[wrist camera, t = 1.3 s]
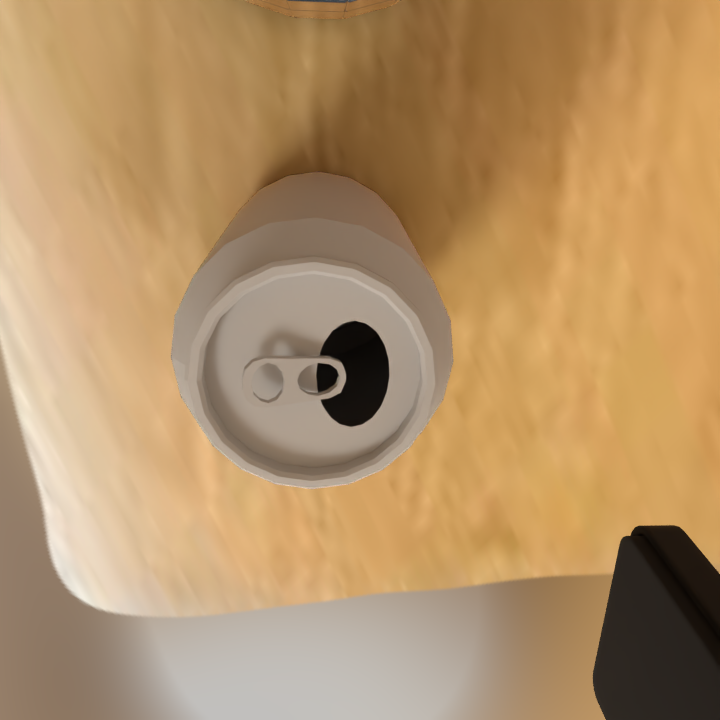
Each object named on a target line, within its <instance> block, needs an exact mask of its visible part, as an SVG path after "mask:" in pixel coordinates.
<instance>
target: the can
mask: <svg viewBox="0 0 720 720" xmlns="http://www.w3.org/2000/svg"><path fill="white" fill-rule="evenodd" d="M171 359H172V363H173V367H174V371H175V375H176V379H177V383H178V387H179V391H180V395H181V398H182V399H183V401H184V402H185V404H186V405H187V407H188V409H189V410H190V412H191V413H192V415H193V416H194V418H195V419H196V421H197V423H198V424H199V426H200V427H201V429H202V430H203V432H204V433H205V434H206V436H207V438H208V439H209V441H210V442H211V444H212V445H213V446H214V447H215V448H216V449H217V450H218V451H220V452H221V453H222V454H223V455H224V456H226V457H227V458H228V459H229V460H230V461H232V462H233V463H234V464H235V465H236V466H238V467H239V468H240V469H242V470H244V471H246V472H248V473H251V474H253V475H255V476H258V477H260V478H262V479H265V480H267V481H269V482H272V483H274V484H279V485H286V486H293V487H300V488H308V489H317V488H324V487H332V486H340V485H347V484H351V483H353V482H355V481H358V480H360V479H362V478H365V477H367V476H369V475H372V474H374V473H377V472H379V471H381V470H383V469H384V468H385V467H387V466H388V465H389V464H390V463H392V462H393V461H394V460H395V459H396V458H398V457H399V456H400V455H401V454H403V453H404V452H405V451H406V450H407V449H409V448H410V447H411V445H412V444H413V442H414V441H415V439H416V438H417V436H418V435H419V434H421V432H422V431H423V429H424V428H425V426H426V425H427V423H428V422H429V420H430V419H431V417H432V416H433V414H434V413H435V411H436V410H437V408H438V407H439V405H440V404H441V402H442V401H443V398H444V394H445V390H446V387H447V383H448V379H449V376H450V372H451V368H452V364H453V349H452V335H451V321H450V318H449V316H448V314H447V311H446V309H445V307H444V304H443V302H442V300H441V297H440V295H439V293H438V291H437V288H436V286H435V284H434V281H433V280H432V278H431V276H430V274H429V272H428V271H427V269H426V267H425V265H424V263H423V262H422V260H421V258H420V256H419V254H418V253H417V251H416V249H415V247H414V245H413V244H412V242H411V240H410V238H409V237H408V235H407V233H406V231H405V229H404V228H403V226H402V224H401V222H400V220H399V219H398V217H397V215H396V214H395V213H394V212H393V211H392V210H391V208H390V207H389V206H388V205H387V204H386V203H385V202H384V201H383V200H382V199H381V197H380V196H379V195H378V194H377V193H376V192H374V191H372V190H371V189H369V188H367V187H365V186H363V185H362V184H360V183H358V182H356V181H355V180H353V179H351V178H349V177H344V176H339V175H334V174H329V173H324V172H311V173H304V174H296V175H288V176H286V177H284V178H282V179H280V180H278V181H276V182H274V183H272V184H270V185H268V186H266V187H264V188H262V189H260V190H259V191H258V192H257V193H256V194H255V195H254V196H253V197H252V198H251V199H250V200H249V201H248V202H247V203H246V204H245V205H244V206H243V207H242V208H241V209H240V210H239V211H238V213H237V214H236V215H235V217H234V218H233V220H232V221H231V223H230V224H229V226H228V227H227V228H226V230H225V231H224V233H223V234H222V236H221V237H220V239H219V240H218V241H217V243H216V244H215V246H214V247H213V249H212V250H211V252H210V253H209V254H208V256H207V257H206V259H205V260H204V262H203V263H202V264H201V266H200V267H199V269H198V270H197V272H196V273H195V275H194V276H193V278H192V280H191V282H190V284H189V287H188V289H187V291H186V293H185V295H184V297H183V299H182V301H181V303H180V306H179V308H178V310H177V312H176V314H175V319H174V330H173V340H172V351H171Z"/></svg>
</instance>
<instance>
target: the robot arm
mask: <svg viewBox="0 0 720 720" xmlns="http://www.w3.org/2000/svg"><path fill="white" fill-rule="evenodd" d="M593 686H594V691H595V695H596V698H597V701H598V703H599V705H600V708H601V710H602V712H603V714H604V717H605V719H606V720H720V574H719V573H718V571H717V570H716V569H715V568H714V567H713V565H712V564H711V563H710V562H709V561H708V559H707V558H706V557H705V556H704V555H703V553H702V552H701V551H700V550H699V549H698V547H697V546H696V545H695V544H694V543H693V541H692V540H691V539H690V538H689V537H688V535H687V534H686V533H685V532H684V531H683V530H682V529H681V528H680V527H678V526H675V525H669V526H637V527H635V528H634V530H633V531H632V533H631V536H625V537H623V538H622V540H621V542H620V546H619V550H618V555H617V560H616V565H615V570H614V574H613V579H612V584H611V589H610V594H609V599H608V603H607V608H606V614H605V618H604V623H603V627H602V632H601V637H600V642H599V647H598V652H597V656H596V661H595V666H594V671H593Z"/></svg>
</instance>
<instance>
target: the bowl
mask: <svg viewBox="0 0 720 720" xmlns="http://www.w3.org/2000/svg"><path fill="white" fill-rule="evenodd" d="M245 1H246V2H248V3H251V4H254V5H257V6H260V7H263V8H266V9H269V10H272V11H275V12H278V13H281V14H284V15H287V16H290V17H291V16H294V17H295V18H324V19H346V18H349V17H353V16H357V15H361V14H365V13H368V12H372V11H376V10H380V9H383V8H387V7H390V6H391V5H394V4H396V3H398V2H399V1H401V0H245Z"/></svg>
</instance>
